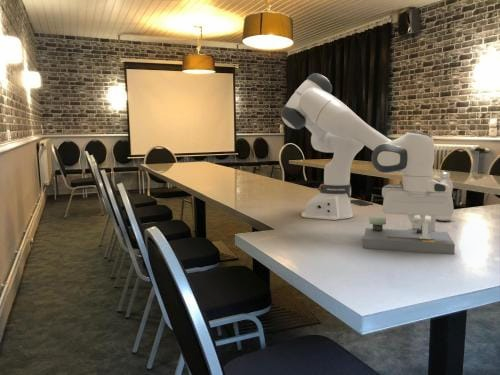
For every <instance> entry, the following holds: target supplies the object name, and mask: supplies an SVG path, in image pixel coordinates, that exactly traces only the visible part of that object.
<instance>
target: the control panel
mask: <svg viewBox="0 0 500 375" xmlns="http://www.w3.org/2000/svg"><path fill="white" fill-rule="evenodd" d="M383 226H384V225H374V224H372V227H365V230H364V234H363V240H362V241H363V242H362V243H363V244H362V245H363V246H362V247H363V249H371V250H372V249H373V250H388V251H403V252H418V253H432V254H433V253H434V254H450V255H455V246H456V244H455V243H454V240H453V239H452V237H451V236H450V234H449V233H448V231H435V230H434V231H428V234H430V236H431V239H419V234H422V226H421V230H420V229H417V231H415V230H414V229H411V230H410V229H393V228H391V229H390V228H383Z"/></svg>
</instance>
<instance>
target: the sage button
mask: <svg viewBox="0 0 500 375" xmlns="http://www.w3.org/2000/svg"><path fill="white" fill-rule="evenodd" d="M386 222H387V218H386V217H383V216H371V217H369V224H371V225H373V224H374V225H383V226H384V225H386V224H387V223H386Z"/></svg>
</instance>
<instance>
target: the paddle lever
mask: <svg viewBox="0 0 500 375" xmlns="http://www.w3.org/2000/svg"><path fill="white" fill-rule="evenodd" d="M419 239H431V236H430V234H428V221H427V220H424V221H423V223H422V234H419Z"/></svg>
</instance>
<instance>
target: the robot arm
mask: <svg viewBox="0 0 500 375" xmlns="http://www.w3.org/2000/svg"><path fill="white" fill-rule="evenodd" d="M332 91H333V85H332V83H331V82H330V80H329V79H328V77H326V76H324V75H322V74H321V73H318V72H317V73H316V72H314V73H311V74H309V76H308V77H306V80H304V81H303V82H302V83H301V84H300V85H299V87H298V88H297V89H295V91H294V93H293V94H292V95H291V96H290V98H289V100H288V101H287V102H286V104H285V105H283V107H282V109H281V110H280V118H282V121H283V123H284V124H285V125H286V126H287V127H289V128H291V129H294V130H300V129H302V128H304V127H305V128H306V129H307V130H308V131H309V132H310V133H311V136H310V144H311V146H312V148H313V149H314V150H315V151H318V152H322V153H333V157H332V159H331V161H329V162H327V163H326V164H325V165H324V167H323V168H324V171H323V183H321V184H320V185H319V187H318V188H319V189H318V191H319V193H317V194H316V195H315V196H313V197H311V199H310V200H309V201H308V202H307V204H306V208H305V210H304V211H302V212H301V213H300V214H301V217H302V218H306V219H307V218H308V219H319V220H320V219H321V220H330V221H331V220H333V221H335V220H336V221H337V220H338V221H339V220H344V219H350V218H353V217H354V214H353V210H352V203H350V200H351V196H352V185H351V182H350V180H351V168H352V163H353V161H354V159H355V157H356V155H357V154H358V153H359V152H360V151H361V150H362V149H363V148H364V147H367V148H368V149H370V150H371V151H372V153H371V159H370V160H371V164H372V166H373V168H375V169H376V170H377V172H381V173H384V174H392V173H393V174H394V173H402V183H401V184H399V183H395V184H391V183H389V184H387V185H384V186H383V187H382V188H381V196H382V198H383V201H382V202H383V203H382V212H383V213H384V214H386V215H388V214H389V215H406V216H407V218H408V221H410V223H411V225H410V226H411V227H410V228H411V230H414V229H420V230H421V224H422V223H423V221H424V220H425V215H428V216H451V215H452V216H453V215H454V201H453V197H452V196H451V195H450V194H449V193H448V192H449V190H450V186H449V185H448V184H446V183H443V182H440V181H438V180H439V179H438V180H435V176H434V169H433V167H434V163H435V149H436V148H435V140H434V138H433V136H431V134H429V133H426V132H421V131H412V130H409V131H406V132H405V133H404V134H403V135H402V136H400V137H397V138H396V139H391V138H389V137H388V136H386V135H385V134H383V133H381V132H380V131H378V130H376V129H375V128H374V127H373V126H371V125H369V124H368V123H366V122H365V121H364V120H363V119H362V118H361V117H360V116H358V115H357V114H356V113H355V112H354V111H353V110H352V109H351V108H350V107H349V106H347V105H346V104H345V103H344V102H343V101H342V100H340V99H338V97H336V96H334V95H333V94H332ZM413 215H420V218H421V220H420V221H419V223H414V222H413Z"/></svg>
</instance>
